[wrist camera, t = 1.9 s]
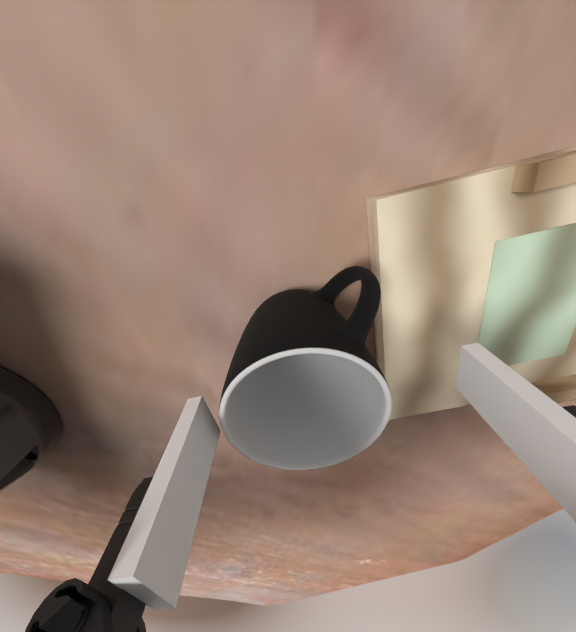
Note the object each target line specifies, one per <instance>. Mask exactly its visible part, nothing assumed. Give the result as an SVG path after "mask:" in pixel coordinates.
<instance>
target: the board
mask: <svg viewBox="0 0 576 632" xmlns="http://www.w3.org/2000/svg"><path fill="white" fill-rule="evenodd" d="M366 207H367V222H368V237H369V251H370V266H371V272H372V273H373V274H375V276H376V278H377V279H378V281H379V284H380V290H381V299H380V305H379V308H378V312H377V314H376V317H375V319H374V325H375V339H376V354H377V364H378V366H379V368H380V370H381V371H382V373H383V375H384V377H385V379H386V381H387V383H388V386H389V388H390V392H391V396H392V410H391V415H390V418H389V420H393V419H398V418H403V417H408V416H414V415H419V414H424V413H429V412H435V411H440V410H445V409H450V408H456V407H461V406H466V405H471V404H470V403H469V402H468V401H467V400H466V399H465V397H464V396H463V395H462V394H461V393H460V392H459V391H458V390H457V388H456V383H457V375H458V368H459V360H460V352H461V346H463V345H468V344H473V343H479V344H480V345H482V346H483V347H484V348H485V349H487V350H488V351H489V352H491V353H492V354H493V355H495V356H496V357H497V358H499V359H500V360H501V361H502V362H504V363H505V364H506V365H508V366H509V367H510V368H512V369H513V370H514V371H515V372H517V373H518V374H519V375H521V376H522V377H523V378H525V379H526V380H527V381H528V382H530V383H531V384H532V385H534V386H535V387H536V388H538V389H539V390H540V391H541V392H543V393H544V394H545V395H547V396H548V397H549V398H551V399H552V400H553V401H554V402H556V403H560V402H565V401H570V400H576V147H572V148H568V149H564V150H560V151H556V152H552V153H548V154H544V155H540V156H536V157H532V158H528V159H524V160H520V161H516V162H512V163H508V164H504V165H500V166H496V167H492V168H488V169H484V170H480V171H476V172H472V173H468V174H464V175H460V176H456V177H452V178H448V179H444V180H440V181H436V182H432V183H428V184H424V185H420V186H416V187H412V188H408V189H404V190H400V191H396V192H392V193H388V194H384V195H380V196H376V197H372V198H368V199H366Z"/></svg>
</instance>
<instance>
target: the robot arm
mask: <svg viewBox="0 0 576 632" xmlns="http://www.w3.org/2000/svg"><path fill="white" fill-rule="evenodd" d="M456 388H457V390H458V391H459V392H460V393H461V394H462V395H463V396H464V397H465V399H466V400H467V401H468V402H469V403H470V404H471V405H472V406H473V407H474V409H475V410H476V411H477V412H478V413H479V414H480V415H481V416H482V418H483V419H484V420H485V421H486V422H487V423H488V424H489V425H490V427H491V428H492V429H493V430H494V431H495V432H496V433H497V434H498V436H499V437H500V438H501V439H502V440H503V441H504V442H505V443H506V445H507V446H508V447H509V448H510V449H511V450H512V451H513V452H514V453H515V455H516V456H517V457H518V458H519V459H520V460H521V461H522V462H523V464H524V465H525V466H526V467H527V468H528V469H529V470H530V471H531V473H532V474H533V475H534V476H535V477H536V478H537V479H538V480H539V482H540V483H541V484H542V485H543V486H544V487H545V488H546V489H547V491H548V492H549V493H550V494H551V495H552V496H553V497H554V498H555V500H556V501H557V502H558V503H559V504H560V505H561V506H562V507H563V508H564V510H565V511H566V512H567V513H568V514H569V515H570V516H571V517H572V519H573V520H574V521H575V522H576V406H574V405H573V406H567V407H561V406H560V405H558V404H557V403H556V402H554V401H553V400H552V399H551V398H549V397H548V396H547V395H545V394H544V393H543V392H541V391H540V390H539V389H538V388H536V387H535V386H534V385H532V384H531V383H530V382H528V381H527V380H526V379H525V378H523V377H522V376H521V375H519V374H518V373H517V372H515V371H514V370H513V369H512V368H510V367H509V366H508V365H506V364H505V363H504V362H502V361H501V360H500V359H499V358H497V357H496V356H495V355H493V354H492V353H491V352H489V351H488V350H487V349H485V348H484V347H483V346H482V345H480V344H479V343H473V344H468V345H463V346H461V352H460V360H459V368H458V375H457V383H456ZM61 429H62V428H61V421H60V418H59V416H58V414H57V412H56V410H55V408H54V407H53V406H52V404H51V403H50V402H49V401H48V399H47V398H46V397H45V396H44V395H43V394H42V393H41V392H39V391H38V390H37V389H36V388H35V387H33V386H32V385H31V384H29V383H28V382H26V381H25V380H23V379H22V378H20V377H19V376H17V375H15V374H13V373H11V372H10V371H8V370H6V369H4V368H1V367H0V492H1V491H2V490H3V489H5V488H6V487H8V486H9V485H10V484H12V483H13V482H14V481H16V480H17V479H19V478H20V477H21V476H23V475H24V474H26V473H27V472H28V471H30V470H31V469H32V468H34V467H35V466H36V465H37V464H38V463H39V462H40V461H41V460H42V459H43V458H44V457H45V456H46V455H47V454H48V452H49V451H50V450H51V449H52V448H53V447H54V445H55V444H56V443H57V442H58V440H59V438H60V436H61ZM219 434H220V429H219V427H218V425H217V423H216V421H215V419H214V418H213V416H212V414H211V412H210V410H209V408H208V406H207V405H206V403H205V401H204V399H203V397H202V396H200V397H195V398H190V399H188V400H187V402H186V405H185V407H184V409H183V411H182V414H181V416H180V418H179V420H178V423H177V425H176V427H175V429H174V432H173V434H172V436H171V438H170V441H169V443H168V445H167V447H166V450H165V452H164V454H163V456H162V459H161V461H160V463H159V465H158V468H157V470H156V472H155V474H154V477H150V478H144V480H143V481H142V482H141V483H140V485H139V486H138V487H137V489H136V490H135V491H134V492H133V494H132V496H131V498H130V500H129V502H128V504H127V506H126V508H125V512H123V515H122V517H121V519H120V521H119V525H118V526H117V527H116V529H115V531H114V533H113V535H112V537H111V539H110V541H109V543H108V545H107V547H106V549H105V551H104V553H103V555H102V557H101V560H100V562H99V564H98V566H97V568H96V570H95V572H94V574H93V576H92V578H91V580H90V582H89V583H88V585H87V584H86V583H84V582H82V581H81V580H78V579H76V578H74V579H71V580H67V581H65V582H64V583H63V584H61V585H59V586H58V587H57V588H55V589H54V590H53V591H52V592H51V593H50V594H49V595H48V596H47V597H46V599H44V601H43V602H42V604H41V605H40V606H39V608H38V609H37V610H36V612H35V613H34V615H33V617H32V619H31V620H30V622H29V624H28V626H27V628H26V631H25V632H146V628H145V623H144V621H143V619H142V614H143V611H144V608H145V605H147V606H148V607H150V608H151V609H153V610H161V609H170V608H176V605H177V600H178V597H179V593H180V589H181V585H182V581H183V577H184V573H185V569H186V565H187V561H188V557H189V553H190V549H191V545H192V541H193V537H194V533H195V529H196V525H197V521H198V517H199V513H200V509H201V505H202V502H203V498H204V494H205V490H206V486H207V482H208V478H209V474H210V470H211V466H212V462H213V458H214V454H215V450H216V446H217V442H218V438H219Z"/></svg>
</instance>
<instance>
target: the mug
mask: <svg viewBox="0 0 576 632" xmlns="http://www.w3.org/2000/svg"><path fill="white" fill-rule="evenodd" d="M358 280H361V284H362V287H361V293H360V297H359V300H358V303H357V306H356V308H355V310H354V312H353V314H352V315H351V317H350V318H349V319H348V320H347V321H346V320H345V319H344V317H343V316H342V315H341V314H340V313H339V312H338V311H337V310H336V308H335V306H334V302H335V299H336V297H337V296H338V294H339V293H340V292H341V291H342V290H343V289H344V288H346V287H347V286H348V285H350V284H351V283H353V282H355V281H358ZM380 299H381V290H380V284H379V281H378V279H377V278H376V276H375V274H373V273H372V272H371V271H370V270H368V269H366V268H364V267H361V266H353V267H349V268H346V269H344V270H342V271H341V272H339V273H338V274H337V275H335V276H334V277H333V278H332V279H331V280H330V281H329V282H328V283H327V284H326V285H325V286H324V287H323V288H321V289H320V290H319V291H317V292H315V293H311V292H308V291H303V290H289V291H284V292H280V293H278V294H275V295H273V296H272V297H270V298H268V299H267V300H266V301H265V302H263V303H262V304H261V305H260V307H259V308H258V309H257V310H256V311H255V313H254V314H253V316H252V317H251V319H250V321H249V323H248V324H247V326H246V328H245V330H244V332H243V334H242V337H241V339H240V341H239V344H238V346H237V349H236V351H235V354H234V356H233V359H232V362H231V365H230V368H229V371H228V374H227V377H226V380H225V384H224V387H223V391H222V395H221V400H220V407H219V419H220V424H221V428H222V430H223V432H224V435H225V436H226V438H227V439H228V441H229V442H230V443H231V444H232V445H233V447H234V448H235V449H237V450H238V451H239V452H240V453H241V454H243V455H244V456H246V457H248V458H249V459H251V460H253V461H255V462H258V463H260V464H263V465H266V466H270V467H274V468H279V469H287V470H310V469H318V468H323V467H328V466H331V465H335V464H338V463H341V462H343V461H346V460H348V459H350V458H352V457H354V456H356V455H357V454H359V453H361V452H362V451H364V450H365V449H366V448H368V447H369V446H370V445H371V444H372V443H373V442H374V441H375V440H376V439H377V438H378V437H379V436H380V435H381V433H382V432H383V430H384V429H385V427H386V425H387V423H388V421H389V418H390V415H391V410H392V396H391V392H390V388H389V386H388V383H387V381H386V379H385V377H384V375H383V373H382V371H381V370H380V368H379V366H378V364H377V363H376V361H375V359H374V358H373V356H372V355H371V353H370V352H369V350H368V349H367V347H366V346H365V341H366V337H367V335H368V332H369V330H370V328H371V326H372V324H373V321H374V319H375V317H376V314H377V312H378V308H379V305H380Z"/></svg>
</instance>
